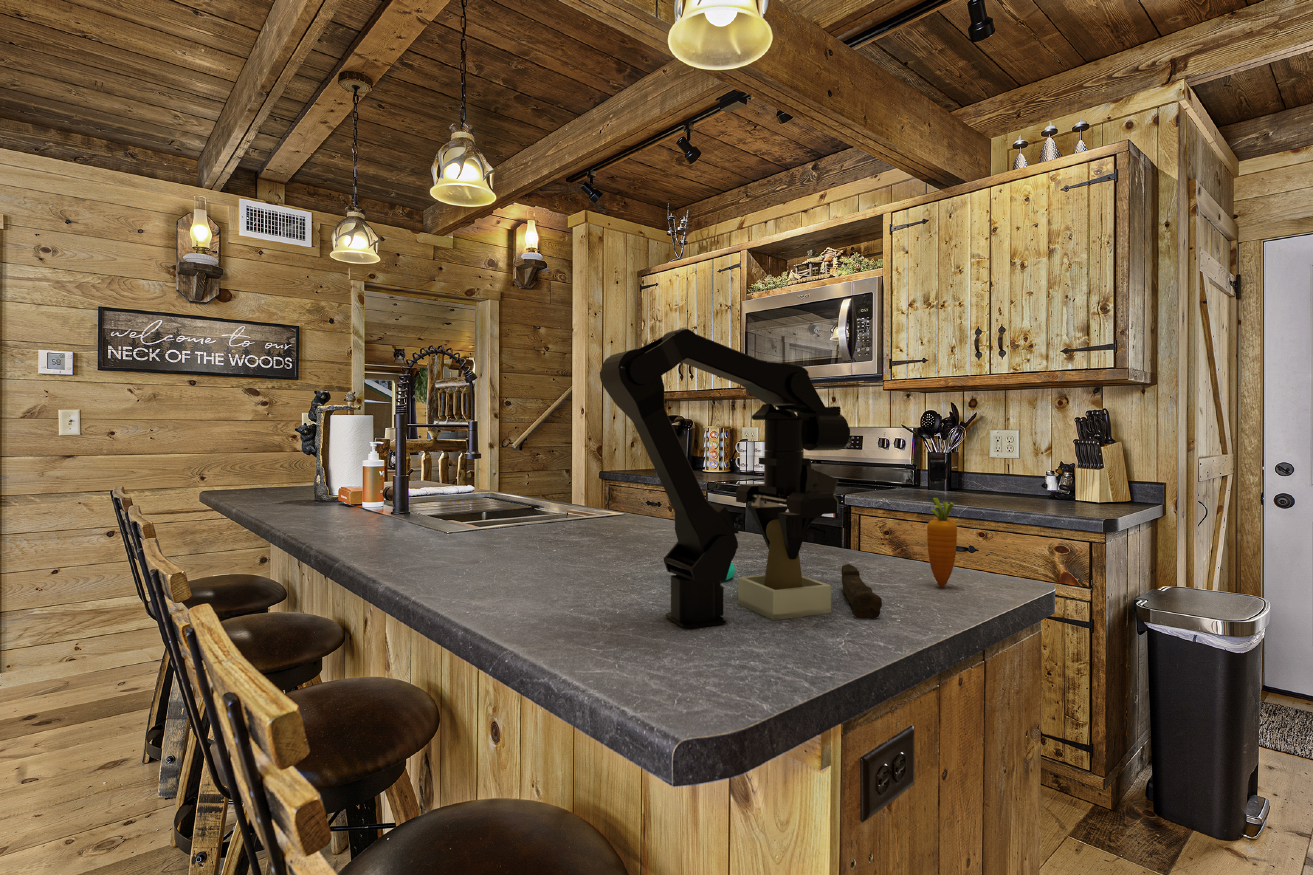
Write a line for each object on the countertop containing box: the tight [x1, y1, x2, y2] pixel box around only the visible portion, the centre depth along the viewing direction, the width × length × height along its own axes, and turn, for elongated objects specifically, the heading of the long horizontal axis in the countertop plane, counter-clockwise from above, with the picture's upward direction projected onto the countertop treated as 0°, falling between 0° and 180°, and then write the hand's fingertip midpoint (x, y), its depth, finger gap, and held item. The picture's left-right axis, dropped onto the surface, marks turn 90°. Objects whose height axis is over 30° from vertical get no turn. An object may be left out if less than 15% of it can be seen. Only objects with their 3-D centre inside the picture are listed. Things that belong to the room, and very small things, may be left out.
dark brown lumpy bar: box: [841, 563, 883, 620], centre depth 105 cm, size 19×4×5 cm, turn 171°
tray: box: [737, 574, 832, 621], centre depth 101 cm, size 10×10×4 cm
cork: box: [764, 519, 803, 590], centre depth 101 cm, size 6×6×11 cm
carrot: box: [926, 497, 958, 589], centre depth 114 cm, size 5×5×15 cm
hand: (783, 556), depth 101 cm, fingers closed on cork, 5 cm apart
